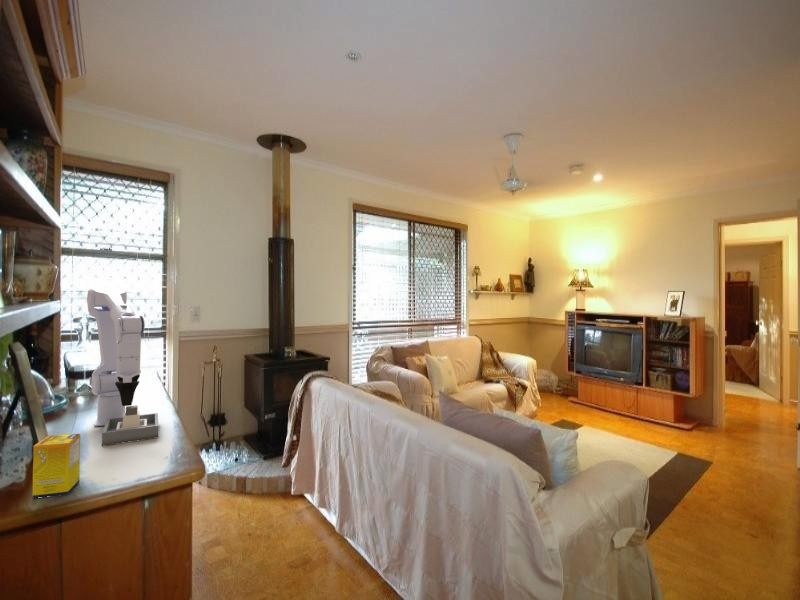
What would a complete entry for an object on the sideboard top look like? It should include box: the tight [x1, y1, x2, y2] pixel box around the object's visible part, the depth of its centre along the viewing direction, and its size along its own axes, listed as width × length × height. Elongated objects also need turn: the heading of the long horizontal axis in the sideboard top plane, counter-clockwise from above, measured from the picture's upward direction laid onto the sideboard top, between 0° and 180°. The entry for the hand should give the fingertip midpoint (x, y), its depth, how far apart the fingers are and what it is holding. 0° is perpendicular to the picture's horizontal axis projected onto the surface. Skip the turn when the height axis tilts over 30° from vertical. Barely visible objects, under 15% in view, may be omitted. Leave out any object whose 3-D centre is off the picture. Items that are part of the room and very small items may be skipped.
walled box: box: [101, 412, 160, 447], centre depth 115 cm, size 14×13×4 cm
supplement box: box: [32, 432, 81, 499], centre depth 81 cm, size 6×6×11 cm
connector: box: [123, 405, 141, 428], centre depth 114 cm, size 4×4×7 cm
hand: (127, 402), depth 115 cm, fingers open, 7 cm apart
